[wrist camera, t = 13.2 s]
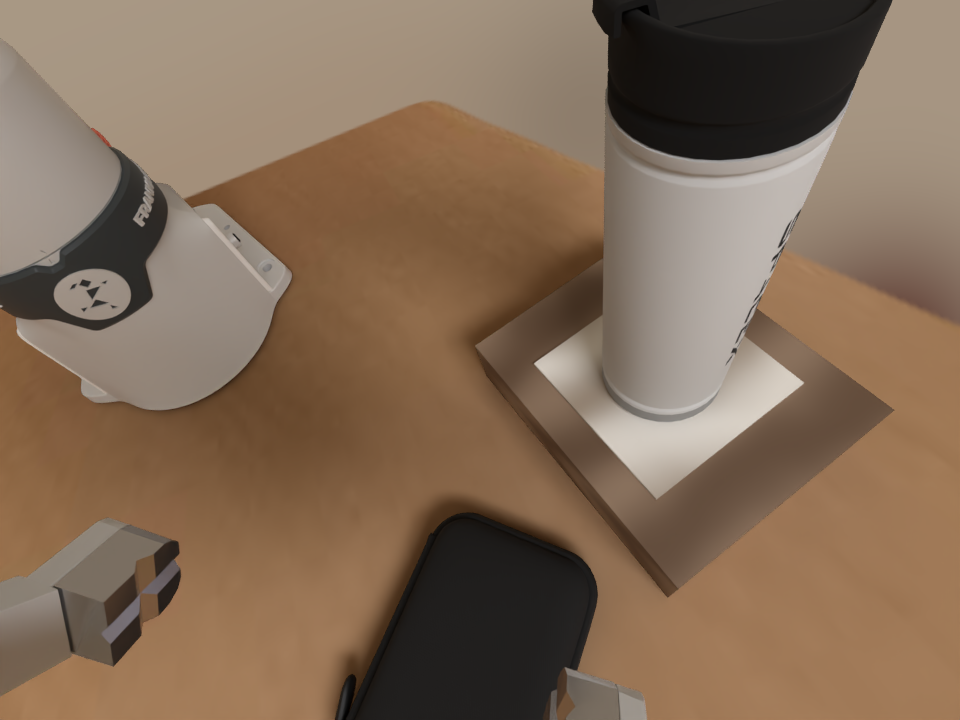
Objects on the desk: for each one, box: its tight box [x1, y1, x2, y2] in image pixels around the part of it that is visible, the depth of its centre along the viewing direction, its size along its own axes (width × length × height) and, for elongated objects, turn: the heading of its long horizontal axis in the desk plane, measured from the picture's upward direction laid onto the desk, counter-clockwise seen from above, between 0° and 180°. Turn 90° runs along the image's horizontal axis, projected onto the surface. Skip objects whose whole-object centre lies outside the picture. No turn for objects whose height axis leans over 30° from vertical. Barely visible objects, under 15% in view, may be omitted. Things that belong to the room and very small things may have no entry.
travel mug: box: [592, 0, 892, 422], centre depth 20 cm, size 6×7×20 cm
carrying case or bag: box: [335, 513, 598, 720], centre depth 26 cm, size 11×3×15 cm
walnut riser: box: [475, 258, 894, 597], centre depth 30 cm, size 17×14×4 cm
